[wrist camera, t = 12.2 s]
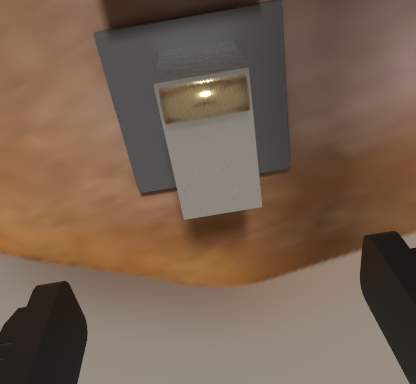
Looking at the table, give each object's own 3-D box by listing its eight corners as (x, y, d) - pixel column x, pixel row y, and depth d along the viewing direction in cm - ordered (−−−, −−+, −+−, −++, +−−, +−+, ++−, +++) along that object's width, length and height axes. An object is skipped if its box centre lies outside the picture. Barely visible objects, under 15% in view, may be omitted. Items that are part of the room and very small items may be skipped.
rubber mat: (95, 31, 21) (93, 33, 21) (279, -1, 21) (281, 0, 21) (140, 188, 27) (139, 193, 26) (288, 164, 26) (290, 168, 26)
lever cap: (159, 52, 22) (152, 89, 16) (231, 39, 21) (251, 72, 16) (182, 165, 25) (184, 229, 19) (245, 155, 25) (265, 216, 19)
